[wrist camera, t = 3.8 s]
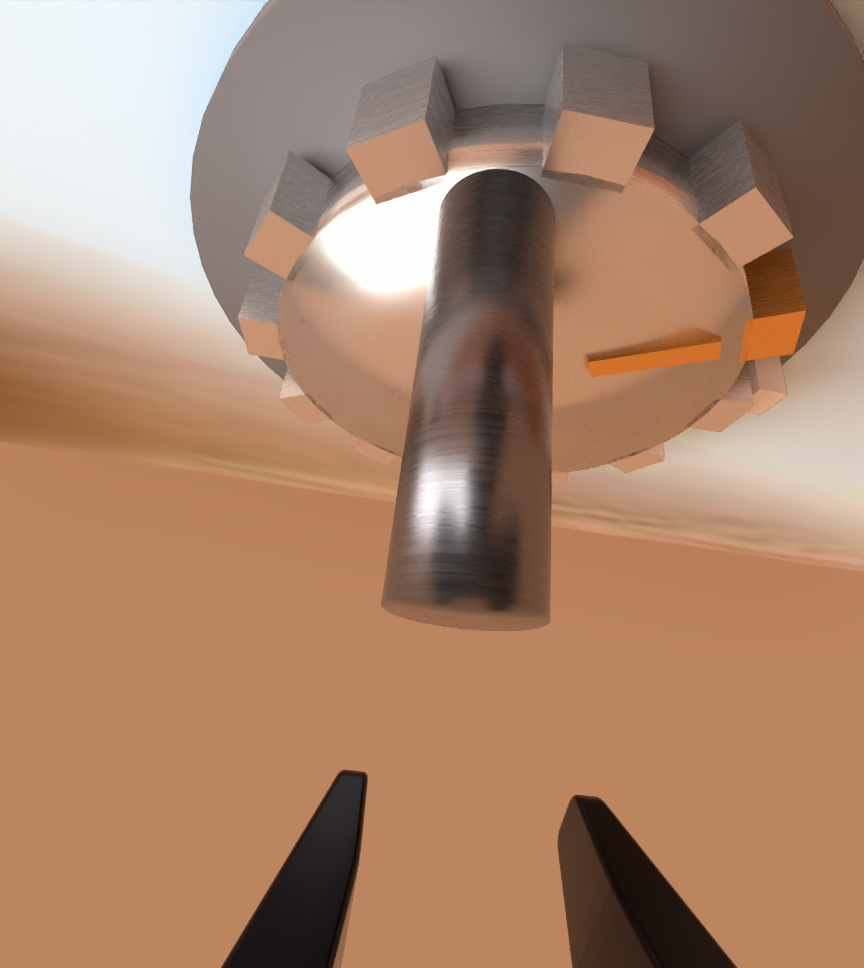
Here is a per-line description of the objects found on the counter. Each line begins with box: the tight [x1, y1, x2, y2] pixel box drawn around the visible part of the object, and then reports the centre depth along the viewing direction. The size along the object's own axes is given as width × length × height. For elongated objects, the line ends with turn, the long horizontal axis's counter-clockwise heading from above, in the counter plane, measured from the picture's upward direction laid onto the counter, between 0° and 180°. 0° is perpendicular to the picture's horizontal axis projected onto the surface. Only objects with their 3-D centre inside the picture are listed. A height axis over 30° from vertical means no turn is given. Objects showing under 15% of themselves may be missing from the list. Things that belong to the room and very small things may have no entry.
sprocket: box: [238, 43, 806, 631], centre depth 14 cm, size 15×15×10 cm
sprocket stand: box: [190, 0, 864, 414], centre depth 16 cm, size 19×19×2 cm
